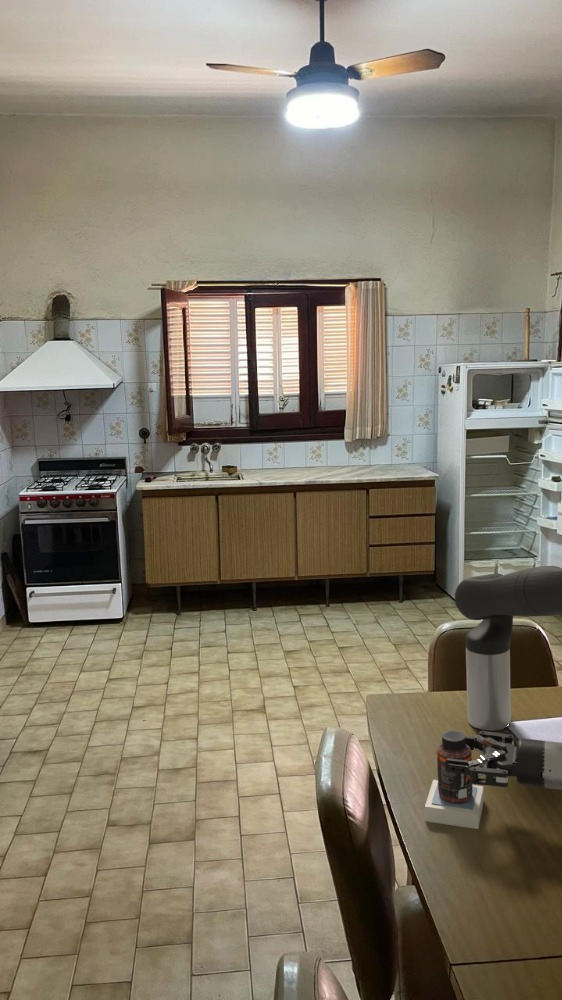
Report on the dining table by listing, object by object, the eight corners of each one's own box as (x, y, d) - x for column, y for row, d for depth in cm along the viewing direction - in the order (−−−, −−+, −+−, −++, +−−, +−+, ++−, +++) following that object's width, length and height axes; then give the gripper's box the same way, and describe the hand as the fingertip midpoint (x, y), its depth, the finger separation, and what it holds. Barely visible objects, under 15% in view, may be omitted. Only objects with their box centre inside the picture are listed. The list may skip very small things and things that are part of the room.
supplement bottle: (473, 805, 129) (471, 744, 127) (438, 803, 131) (436, 743, 129) (472, 786, 135) (470, 728, 133) (438, 785, 136) (436, 727, 134)
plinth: (433, 793, 139) (433, 778, 139) (483, 800, 136) (483, 785, 135) (425, 821, 131) (424, 805, 130) (478, 829, 128) (477, 813, 127)
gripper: (547, 724, 132) (454, 714, 138) (545, 764, 119) (442, 752, 125) (548, 763, 133) (455, 752, 139) (545, 808, 120) (443, 794, 126)
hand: (449, 752), depth 132 cm, fingers open, 8 cm apart
